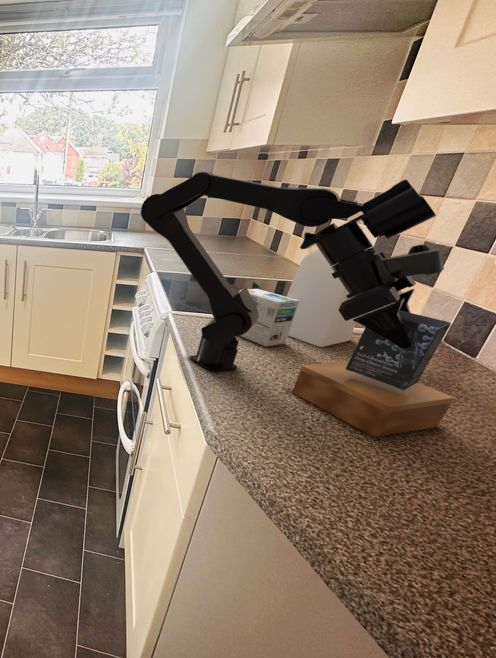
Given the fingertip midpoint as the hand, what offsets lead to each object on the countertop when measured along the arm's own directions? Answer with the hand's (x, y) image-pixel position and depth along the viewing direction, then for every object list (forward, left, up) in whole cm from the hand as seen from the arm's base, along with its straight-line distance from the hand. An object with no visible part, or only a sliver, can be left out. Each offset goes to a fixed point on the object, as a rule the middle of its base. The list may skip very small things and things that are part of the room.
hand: (410, 342), depth 64 cm
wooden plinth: (-2, 0, -13) cm, 13 cm away
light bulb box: (-33, +9, -13) cm, 37 cm away
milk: (-32, +25, -13) cm, 43 cm away
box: (-1, -1, -7) cm, 7 cm away
